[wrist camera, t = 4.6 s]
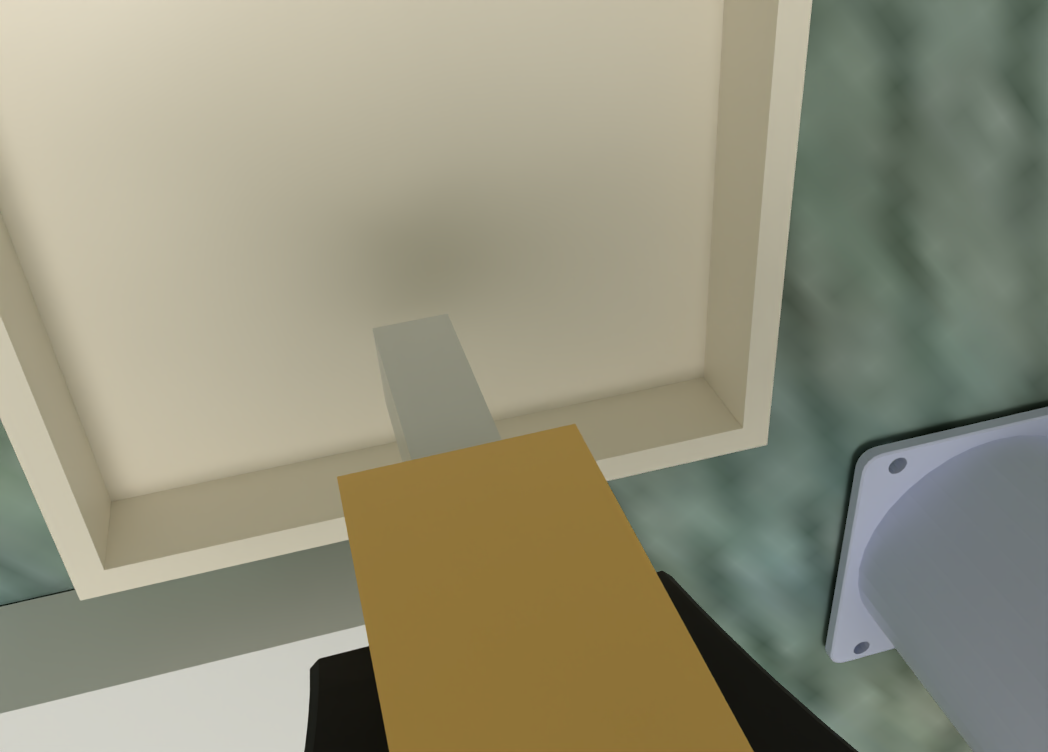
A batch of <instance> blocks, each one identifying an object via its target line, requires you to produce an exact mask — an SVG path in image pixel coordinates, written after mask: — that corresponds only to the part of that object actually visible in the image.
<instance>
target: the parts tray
mask: <svg viewBox="0 0 1048 752" xmlns="http://www.w3.org/2000/svg"><path fill="white" fill-rule="evenodd" d="M811 8H812V0H0V418H1V421H2V423H3V425H4V428H5V430H6V432H7V434H8V437H9V439H10V441H11V444H12V446H13V448H14V451H15V453H16V455H17V457H18V460H19V462H20V464H21V467H22V469H23V471H24V473H25V476H26V478H27V480H28V483H29V485H30V487H31V489H32V492H33V494H34V496H35V499H36V501H37V503H38V505H39V508H40V510H41V512H42V515H43V517H44V519H45V521H46V524H47V526H48V528H49V531H50V533H51V535H52V537H53V540H54V542H55V544H56V547H57V549H58V551H59V553H60V556H61V558H62V560H63V563H64V565H65V567H66V569H67V572H68V574H69V576H70V579H71V581H72V583H73V585H74V588H75V590H76V592H77V595H78V597H79V599H80V601H81V600H85V599H90V598H94V597H99V596H103V595H107V594H112V593H116V592H121V591H125V590H129V589H134V588H138V587H143V586H147V585H151V584H156V583H160V582H165V581H169V580H173V579H178V578H182V577H187V576H191V575H196V574H200V573H204V572H209V571H213V570H218V569H222V568H226V567H231V566H235V565H240V564H244V563H248V562H253V561H257V560H262V559H266V558H270V557H275V556H279V555H284V554H288V553H292V552H297V551H301V550H306V549H310V548H315V547H319V546H323V545H328V544H332V543H337V542H341V541H345V540H349V538H348V533H347V528H346V522H345V517H344V512H343V507H342V502H341V496H340V491H339V486H338V481H337V477H338V476H342V475H347V474H351V473H356V472H360V471H365V470H369V469H374V468H378V467H383V466H387V465H392V464H396V463H401V462H402V458H401V455H400V451H399V448H398V444H397V441H396V437H395V434H394V430H393V427H392V423H391V420H390V416H389V413H388V409H387V406H386V401H385V396H384V390H383V384H382V379H381V373H380V368H379V362H378V356H377V351H376V345H375V339H374V334H373V328H377V327H382V326H387V325H392V324H397V323H403V322H408V321H413V320H418V319H423V318H428V317H433V316H438V315H443V314H448V316H449V318H450V320H451V323H452V325H453V327H454V330H455V332H456V334H457V337H458V339H459V341H460V344H461V346H462V348H463V351H464V353H465V355H466V358H467V360H468V362H469V365H470V367H471V369H472V372H473V374H474V376H475V379H476V381H477V383H478V386H479V388H480V390H481V393H482V395H483V397H484V400H485V402H486V404H487V406H488V409H489V411H490V413H491V416H492V418H493V420H494V423H495V425H496V427H497V430H498V432H499V434H500V437H501V439H502V440H504V439H508V438H513V437H517V436H522V435H526V434H531V433H535V432H540V431H544V430H549V429H553V428H558V427H562V426H567V425H571V424H576V426H577V428H578V430H579V432H580V433H581V435H582V437H583V439H584V441H585V443H586V444H587V446H588V448H589V450H590V452H591V454H592V455H593V457H594V459H595V461H596V463H597V465H598V466H599V468H600V470H601V472H602V474H603V476H604V477H605V479H606V481H610V480H614V479H619V478H623V477H627V476H632V475H636V474H641V473H645V472H649V471H654V470H658V469H663V468H667V467H672V466H676V465H680V464H685V463H689V462H694V461H698V460H702V459H707V458H711V457H716V456H720V455H724V454H729V453H733V452H738V451H742V450H746V449H751V448H755V447H760V446H764V445H767V440H768V430H769V420H770V411H771V401H772V391H773V381H774V371H775V362H776V352H777V342H778V332H779V322H780V313H781V303H782V293H783V283H784V273H785V264H786V254H787V244H788V234H789V224H790V214H791V205H792V195H793V185H794V175H795V165H796V156H797V146H798V136H799V126H800V116H801V107H802V97H803V87H804V77H805V67H806V58H807V48H808V38H809V28H810V18H811Z"/></svg>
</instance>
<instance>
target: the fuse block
mask: <svg viewBox="0 0 1048 752" xmlns="http://www.w3.org/2000/svg"><path fill="white" fill-rule="evenodd" d="M367 646H369V643H368V638H367V632H366V627H365V622H364V617H363V611H362V606H361V601H360V596H359V591H358V585H357V580H356V575H355V570H354V564H353V559H352V554H351V549H350V543H349V540H345V541H341V542H337V543H332V544H328V545H323V546H319V547H315V548H310V549H306V550H301V551H297V552H292V553H288V554H284V555H279V556H275V557H270V558H266V559H262V560H257V561H253V562H248V563H244V564H240V565H235V566H231V567H226V568H222V569H218V570H213V571H209V572H204V573H200V574H196V575H191V576H187V577H182V578H178V579H173V580H169V581H165V582H160V583H156V584H151V585H147V586H143V587H138V588H134V589H129V590H125V591H121V592H116V593H112V594H107V595H103V596H99V597H94V598H90V599H85V600H81V601H80V599H79V597H78V595H77V592H76V590H72V591H68V592H63V593H59V594H55V595H50V596H46V597H41V598H37V599H32V600H28V601H23V602H19V603H14V604H10V605H6V606H1V607H0V752H304V750H305V742H306V733H307V724H308V711H309V696H310V668H311V667H312V666H313V665H314V663H315V662H316V661H317V660H318V659H320V658H324V657H327V656H331V655H335V654H339V653H343V652H347V651H351V650H355V649H359V648H363V647H367Z"/></svg>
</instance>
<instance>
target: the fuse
mask: <svg viewBox="0 0 1048 752" xmlns="http://www.w3.org/2000/svg"><path fill="white" fill-rule="evenodd" d="M373 334H374V339H375V345H376V351H377V356H378V362H379V368H380V373H381V379H382V384H383V390H384V396H385V401H386V406H387V409H388V413H389V416H390V420H391V423H392V427H393V430H394V434H395V437H396V441H397V444H398V448H399V451H400V455H401V458H402V462H401V463H396V464H392V465H387V466H383V467H378V468H374V469H369V470H365V471H360V472H356V473H351V474H347V475H342V476H338V477H337V481H338V486H339V491H340V496H341V502H342V507H343V512H344V517H345V522H346V528H347V533H348V538H349V543H350V549H351V554H352V559H353V564H354V570H355V575H356V580H357V585H358V591H359V596H360V601H361V606H362V611H363V617H364V622H365V627H366V632H367V638H368V643H369V648H370V653H371V659H372V664H373V669H374V674H375V680H376V685H377V690H378V695H379V700H380V706H381V711H382V716H383V721H384V727H385V732H386V737H387V742H388V748H389V752H754V751H753V749H752V748H751V746H750V744H749V742H748V740H747V738H746V737H745V735H744V733H743V731H742V729H741V727H740V726H739V724H738V722H737V720H736V718H735V716H734V715H733V713H732V711H731V709H730V707H729V705H728V704H727V702H726V700H725V698H724V696H723V694H722V693H721V691H720V689H719V687H718V685H717V683H716V681H715V680H714V678H713V676H712V674H711V672H710V670H709V669H708V667H707V665H706V663H705V661H704V659H703V658H702V656H701V654H700V652H699V650H698V648H697V647H696V645H695V643H694V641H693V639H692V637H691V636H690V634H689V632H688V630H687V628H686V626H685V625H684V623H683V621H682V619H681V617H680V615H679V613H678V612H677V610H676V608H675V606H674V604H673V602H672V601H671V599H670V597H669V595H668V593H667V591H666V590H665V588H664V586H663V584H662V582H661V580H660V579H659V577H658V575H657V573H656V571H655V569H654V568H653V566H652V564H651V562H650V560H649V558H648V557H647V555H646V553H645V551H644V549H643V547H642V545H641V544H640V542H639V540H638V538H637V536H636V534H635V533H634V531H633V529H632V527H631V525H630V523H629V522H628V520H627V518H626V516H625V514H624V512H623V511H622V509H621V507H620V505H619V503H618V501H617V500H616V498H615V496H614V494H613V492H612V490H611V489H610V487H609V485H608V483H607V481H606V479H605V477H604V476H603V474H602V472H601V470H600V468H599V466H598V465H597V463H596V461H595V459H594V457H593V455H592V454H591V452H590V450H589V448H588V446H587V444H586V443H585V441H584V439H583V437H582V435H581V433H580V432H579V430H578V428H577V426H576V424H571V425H567V426H562V427H558V428H553V429H549V430H544V431H540V432H535V433H531V434H526V435H522V436H517V437H513V438H508V439H504V440H502V439H501V437H500V434H499V432H498V430H497V427H496V425H495V423H494V420H493V418H492V416H491V413H490V411H489V409H488V406H487V404H486V402H485V400H484V397H483V395H482V393H481V390H480V388H479V386H478V383H477V381H476V379H475V376H474V374H473V372H472V369H471V367H470V365H469V362H468V360H467V358H466V355H465V353H464V351H463V348H462V346H461V344H460V341H459V339H458V337H457V334H456V332H455V330H454V327H453V325H452V323H451V320H450V318H449V316H448V314H443V315H438V316H433V317H428V318H423V319H418V320H413V321H408V322H403V323H397V324H392V325H387V326H382V327H377V328H373Z"/></svg>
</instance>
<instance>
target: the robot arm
mask: <svg viewBox="0 0 1048 752" xmlns="http://www.w3.org/2000/svg"><path fill="white" fill-rule="evenodd" d="M656 573H657V575H658V577H659V579H660V580H661V582H662V584H663V586H664V588H665V590H666V591H667V593H668V595H669V597H670V599H671V601H672V602H673V604H674V606H675V608H676V610H677V612H678V613H679V615H680V617H681V619H682V621H683V623H684V625H685V626H686V628H687V630H688V632H689V634H690V636H691V637H692V639H693V641H694V643H695V645H696V647H697V648H698V650H699V652H700V654H701V656H702V658H703V659H704V661H705V663H706V665H707V667H708V669H709V670H710V672H711V674H712V676H713V678H714V680H715V681H716V683H717V685H718V687H719V689H720V691H721V693H722V694H723V696H724V698H725V700H726V702H727V704H728V705H729V707H730V709H731V711H732V713H733V715H734V716H735V718H736V720H737V722H738V724H739V726H740V727H741V729H742V731H743V733H744V735H745V737H746V738H747V740H748V742H749V744H750V746H751V748H752V749H753V751H754V752H858V751H857V750H856V749H854V748H853V747H852V746H851V745H850V744H848V743H847V742H846V741H845V740H844V739H842V738H841V737H840V736H839V735H838V734H837V733H835V732H834V731H833V730H832V729H831V728H829V727H828V726H827V725H826V724H825V723H824V722H822V721H821V720H820V719H819V718H818V717H817V716H816V715H815V714H813V713H812V712H811V711H810V710H809V709H808V708H807V707H806V706H804V705H803V704H802V703H801V702H800V701H799V700H798V699H797V698H795V697H794V696H793V695H792V694H791V693H790V692H789V691H788V690H787V689H785V688H784V687H783V686H782V685H781V684H780V683H779V682H778V681H776V680H775V679H774V678H773V677H772V676H771V675H770V674H769V673H768V672H767V671H766V670H765V669H764V668H762V667H761V666H760V665H759V664H758V663H757V662H756V661H755V660H754V659H753V658H752V657H751V656H750V655H749V654H748V653H747V652H746V651H745V650H744V649H743V648H741V647H740V646H739V645H738V644H737V643H736V642H735V641H734V640H733V639H732V638H731V637H730V636H729V635H728V634H727V633H726V632H725V631H724V630H723V629H722V628H721V627H720V626H719V625H718V624H717V623H716V622H715V621H714V620H713V619H712V618H711V617H710V616H709V615H708V614H707V613H706V612H705V611H704V610H703V609H702V608H701V607H700V606H699V605H698V604H697V603H696V602H695V601H694V600H693V599H692V597H691V596H690V595H689V594H688V593H687V592H686V591H685V590H684V589H683V588H682V587H681V586H680V585H679V584H678V583H677V582H676V581H675V580H674V578H673V577H672V576H670V575H669V574H667V573H665V572H664V571H660V572H656ZM894 648H896V650H897V651H898V652H899V654H900V655H901V656H902V658H903V659H904V660H905V662H906V663H907V664H908V666H909V667H910V668H911V670H912V671H913V672H914V674H915V675H916V676H917V678H918V679H919V680H920V682H921V683H922V684H923V686H924V687H925V688H926V690H927V691H928V692H929V694H930V695H931V696H932V698H933V699H934V700H935V702H936V703H937V704H938V706H939V707H940V708H941V710H942V711H943V712H944V714H945V715H946V716H947V718H948V719H949V720H950V722H951V723H952V724H953V725H954V727H955V728H956V729H957V731H958V732H959V733H960V735H961V736H962V737H963V739H964V740H965V741H966V743H967V744H968V745H969V747H970V748H971V749H972V751H973V752H1048V407H1044V408H1040V409H1035V410H1031V411H1027V412H1023V413H1018V414H1014V415H1010V416H1005V417H1001V418H997V419H992V420H988V421H984V422H980V423H975V424H971V425H967V426H962V427H958V428H954V429H949V430H945V431H941V432H937V433H932V434H928V435H924V436H919V437H915V438H911V439H906V440H902V441H898V442H893V443H889V444H885V445H881V446H876V447H873V448H871V449H868V450H867V451H865V452H864V453H863V454H862V455H861V456H860V458H859V459H858V461H857V464H856V467H855V473H854V479H853V485H852V491H851V497H850V503H849V509H848V515H847V521H846V527H845V533H844V539H843V545H842V551H841V557H840V563H839V569H838V575H837V581H836V586H835V592H834V598H833V604H832V610H831V616H830V622H829V628H828V634H827V640H826V646H825V649H826V652H827V654H828V655H829V657H830V658H831V660H832V661H833V662H837V663H841V662H847V661H850V660H854V659H858V658H861V657H865V656H868V655H872V654H876V653H879V652H883V651H887V650H890V649H894ZM304 752H389V748H388V742H387V737H386V732H385V727H384V721H383V716H382V711H381V706H380V700H379V695H378V690H377V685H376V680H375V674H374V669H373V664H372V659H371V653H370V648H369V646H367V647H363V648H359V649H355V650H351V651H347V652H343V653H339V654H335V655H331V656H327V657H324V658H320V659H318V660H317V661H316V662H315V663H314V665H313V666H312V667H311V668H310V696H309V711H308V724H307V733H306V742H305V750H304Z"/></svg>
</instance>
